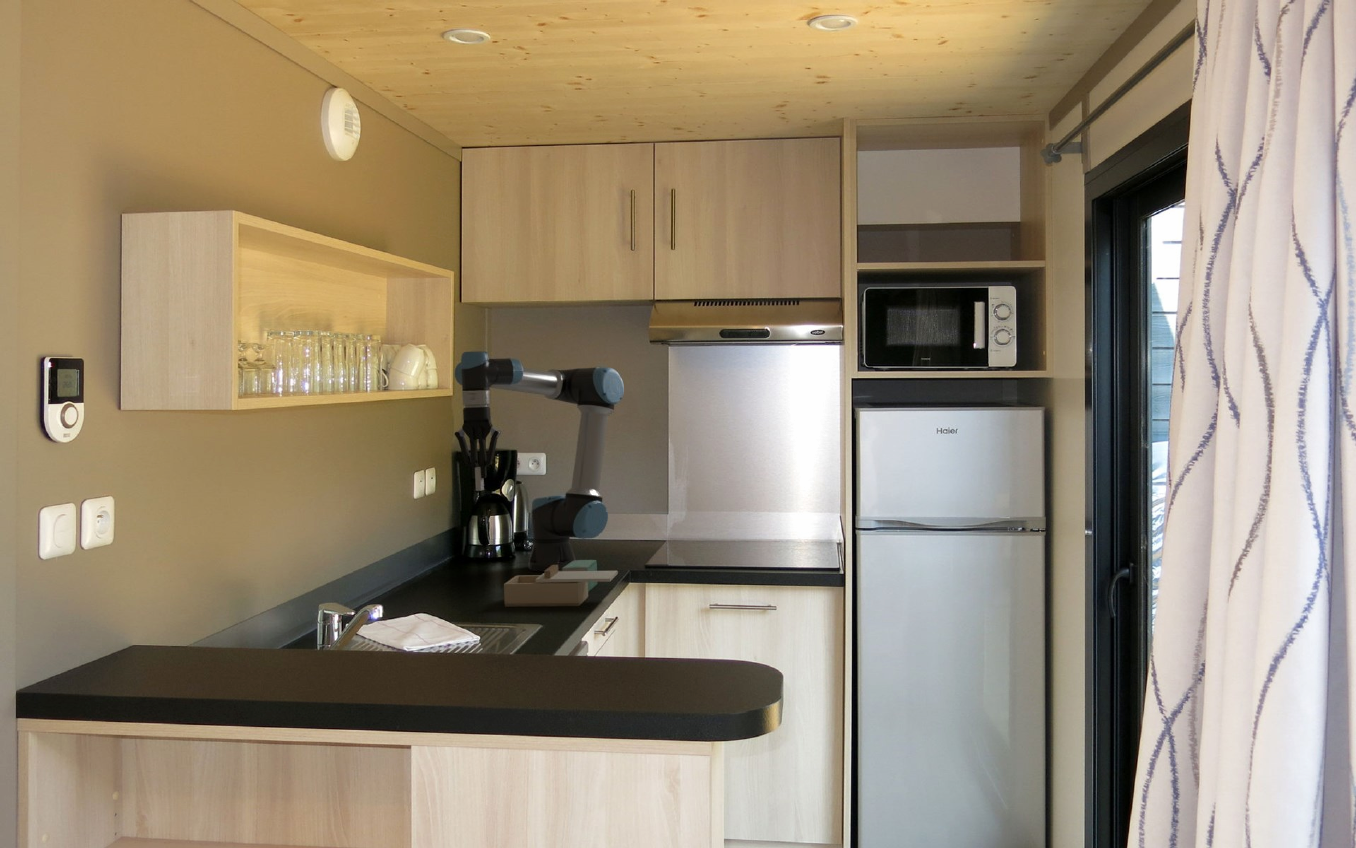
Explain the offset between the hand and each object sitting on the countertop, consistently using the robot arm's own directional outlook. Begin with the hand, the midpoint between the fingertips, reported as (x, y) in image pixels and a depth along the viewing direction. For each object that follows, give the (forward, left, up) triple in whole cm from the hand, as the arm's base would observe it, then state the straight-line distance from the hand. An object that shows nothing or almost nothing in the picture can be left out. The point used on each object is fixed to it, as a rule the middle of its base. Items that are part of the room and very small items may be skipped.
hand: (479, 490), depth 286 cm
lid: (+11, +29, -23) cm, 39 cm away
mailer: (+11, +21, -29) cm, 38 cm away
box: (-6, +26, -30) cm, 40 cm away
